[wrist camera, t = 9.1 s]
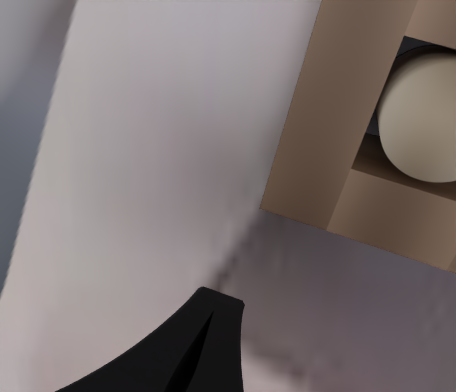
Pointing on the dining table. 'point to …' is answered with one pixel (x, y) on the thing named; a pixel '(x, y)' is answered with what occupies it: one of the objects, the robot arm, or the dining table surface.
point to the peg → (421, 114)
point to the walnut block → (361, 135)
